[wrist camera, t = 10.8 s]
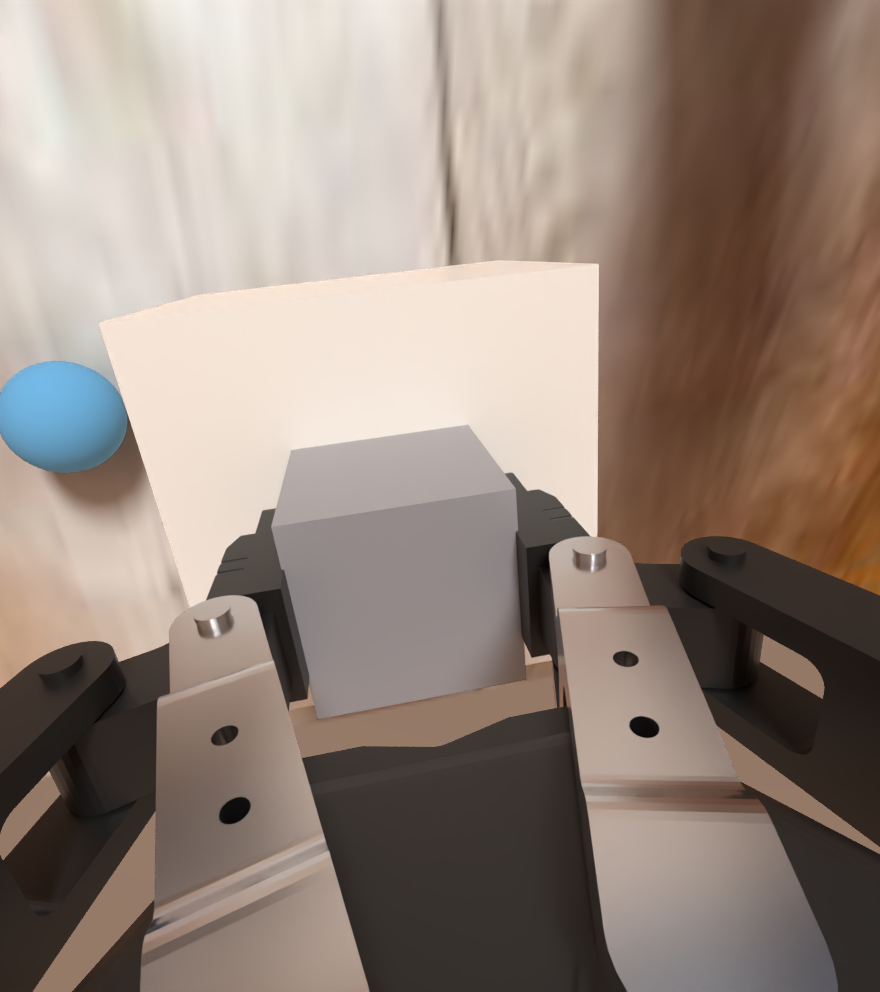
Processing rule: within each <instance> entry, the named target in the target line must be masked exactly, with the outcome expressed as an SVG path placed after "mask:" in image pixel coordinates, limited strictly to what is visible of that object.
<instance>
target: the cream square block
mask: <svg viewBox="0 0 880 992" xmlns="http://www.w3.org/2000/svg"><path fill="white" fill-rule="evenodd" d="M598 312H599V264H588V263H558V262H529V261H500V260H497V261H488V262H480V263H471V264H462V265H454V266H445V267H436V268H428V269H419V270H410V271H402V272H393V273H384V274H375V275H367V276H358V277H349V278H341V279H332V280H323V281H315V282H306V283H297V284H288V285H280V286H271V287H262V288H254V289H245V290H236V291H228V292H219V293H210V294H201V295H197V296H193V297H189V298H186V299H182V300H179V301H175V302H171V303H168V304H164V305H161V306H157V307H153V308H150V309H146V310H143V311H139V312H135V313H132V314H128V315H125V316H121V317H117V318H114V319H110V320H107V321H103V322H99V326H100V329H101V332H102V335H103V339H104V342H105V345H106V348H107V351H108V354H109V357H110V360H111V363H112V367H113V370H114V373H115V376H116V379H117V382H118V385H119V388H120V391H121V395H122V398H123V401H124V404H125V407H126V410H127V413H128V416H129V419H130V423H131V426H132V429H133V432H134V435H135V438H136V441H137V444H138V447H139V451H140V454H141V457H142V460H143V463H144V466H145V469H146V472H147V475H148V478H149V482H150V485H151V488H152V491H153V494H154V497H155V500H156V503H157V506H158V510H159V513H160V516H161V519H162V522H163V525H164V528H165V531H166V534H167V538H168V541H169V544H170V547H171V550H172V553H173V556H174V559H175V562H176V566H177V569H178V572H179V575H180V578H181V581H182V584H183V587H184V590H185V594H186V597H187V600H188V603H189V606H190V608H191V607H193V606H194V605H196V604H199V603H201V602H203V601H206V599H207V596H208V593H209V591H210V588H211V586H212V583H213V581H214V578H215V576H216V575H217V571H218V568H219V566H220V564H221V560H222V558H223V555H224V553H225V550H226V548H227V547H229V546H230V545H231V544H232V543H233V542H234V541H235V540H236V539H238V538H239V537H240V536H242V535H248V534H255V532H256V529H257V526H258V523H259V520H260V516H261V513H262V511H263V510H268V509H274V508H276V510H275V514H274V518H273V522H272V526H271V529H272V533H273V537H274V541H275V545H276V549H277V553H278V558H279V562H280V566H281V570H284V571H285V576H286V580H287V584H288V588H289V592H290V596H291V601H292V605H293V609H294V613H295V617H296V622H297V626H298V630H299V634H300V638H301V643H302V647H303V651H304V655H305V659H306V663H307V668H308V672H309V688H308V699H306V700H301V701H295V702H290V706H289V710H292V709H297V708H302V707H308V706H313V705H314V707H315V711H316V715H317V719H323V718H328V717H334V716H339V715H344V714H349V713H354V712H360V711H365V710H370V709H375V708H381V707H386V706H391V705H396V704H402V703H407V702H412V701H417V700H422V699H428V698H433V697H438V696H443V695H449V694H454V693H459V692H464V691H470V690H475V689H480V688H485V687H490V686H496V685H501V684H506V683H511V682H517V681H522V680H526V665H530V664H536V663H541V662H546V661H551V660H552V658H551V656H550V654H549V655H544V656H539V657H533V658H531V655H530V653H529V651H528V649H527V647H526V645H525V643H524V641H523V638H522V632H521V615H520V597H519V579H518V561H517V544H516V531H518V519H517V501H516V488H515V487H514V486H513V484H512V483H511V482H510V480H509V479H508V477H507V476H506V475H505V473H511V472H512V473H514V475H515V476H516V477H517V478H518V480H519V481H520V482H521V484H522V485H523V486H524V487H525V489H526V490H527V491H530V490H537V489H539V490H542V491H544V492H546V493H548V494H551V495H553V496H555V497H556V498H557V499H558V500H559V501H560V502H561V503H562V505H563V506H564V508H565V509H567V510H568V511H569V513H570V514H571V515H572V517H574V518H575V519H576V520H577V522H578V523H579V524H580V525H581V526H582V527H583V528H584V529H585V531H586V532H587V533H588V534H589V535H590V536H592V537H597V505H598Z"/></svg>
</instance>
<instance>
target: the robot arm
mask: <svg viewBox="0 0 880 992" xmlns="http://www.w3.org/2000/svg"><path fill="white" fill-rule="evenodd" d="M505 475H506V476H507V477H508V479H509V480H510V482H511V483H512V484H513V486H514V487H515V488H516V501H517V519H518V531H516V544H517V561H518V579H519V597H520V615H521V632H522V638H523V641H524V643H525V645H526V647H527V649H528V651H529V653H530V655H531V658H533V657H539V656H544V655H549V654H550V656H551V658H552V667H553V687H554V697H555V707H556V708H554V709H550V710H544V711H539V712H534V713H529V714H524V715H519V716H514V717H509V718H506V719H504V720H502V721H499V722H497V723H495V724H492V725H490V726H488V727H485V728H484V729H481V730H478V731H476V732H474V733H472V734H469V735H467V736H464V737H462V738H460V739H457V740H455V741H453V742H450V743H448V744H445V745H442V746H438V747H366V746H363V747H357V748H352V749H347V750H342V751H336V752H332V753H326V754H321V755H316V756H311V757H306V758H302V757H301V754H300V750H299V747H298V743H297V740H296V736H295V733H294V729H293V726H292V722H291V719H290V715H289V706H290V702H295V701H301V700H306V699H308V688H309V672H308V668H307V663H306V659H305V655H304V651H303V647H302V643H301V638H300V634H299V630H298V626H297V622H296V617H295V613H294V609H293V605H292V601H291V596H290V592H289V588H288V584H287V580H286V576H285V571H284V570H281V566H280V562H279V558H278V553H277V549H276V545H275V541H274V537H273V533H272V529H271V526H272V522H273V518H274V514H275V510H276V508H274V509H268V510H263V511H262V513H261V516H260V520H259V523H258V526H257V529H256V532H255V534H248V535H242V536H240V537H239V538H238V539H236V540H235V541H234V542H233V543H232V544H231V545H230V546H229V547H227V548H226V550H225V553H224V555H223V558H222V560H221V564H220V566H219V568H218V571H217V575H216V576H215V578H214V581H213V583H212V586H211V588H210V591H209V593H208V596H207V599H206V601H203V602H201V603H199V604H196V605H194V606H193V607H191V608H189V609H187V610H186V611H184V612H183V613H182V614H180V615H179V616H178V617H177V618H176V619H175V620H174V622H173V623H172V624H171V627H170V629H169V643H168V644H166V645H164V646H162V647H159V648H157V649H154V650H152V651H149V652H146V653H143V654H141V655H138V656H135V657H132V658H129V659H126V660H124V661H121V662H118V659H117V657H116V654H115V652H114V649H113V648H112V646H111V645H109V644H107V643H104V642H99V641H88V642H81V643H76V644H72V645H69V646H65V647H63V648H60V649H57V650H55V651H53V652H50V653H48V654H46V655H44V656H43V657H41V658H39V659H37V660H36V661H34V662H33V663H31V664H30V665H28V666H27V667H26V668H24V669H23V670H22V671H21V672H19V673H18V674H17V675H16V676H15V677H13V678H12V679H11V680H10V681H9V682H7V683H6V684H5V685H4V686H3V687H1V688H0V832H1V829H2V827H3V824H4V823H5V821H6V819H7V817H8V816H9V814H10V813H11V812H12V810H13V809H14V808H15V807H16V806H17V805H18V804H19V803H20V802H21V800H22V799H23V798H24V797H25V796H26V795H27V794H28V793H29V792H30V791H31V790H32V789H33V788H34V786H35V785H36V784H37V783H38V782H39V781H40V780H41V779H42V778H43V777H44V776H45V775H46V774H47V772H48V771H49V772H50V774H51V776H52V778H53V780H54V782H55V784H56V786H57V788H58V790H59V792H60V793H61V795H60V796H59V797H58V798H57V799H56V800H55V802H54V803H53V804H52V805H51V806H50V807H49V808H48V810H47V811H46V812H45V813H44V814H43V815H42V817H41V818H40V819H39V820H38V821H37V822H36V823H35V825H34V826H33V827H32V828H31V829H30V830H29V831H28V833H27V834H26V835H25V836H24V837H23V838H22V839H21V841H20V842H19V843H18V844H17V845H16V846H15V848H14V849H13V850H12V851H11V852H10V853H9V854H8V856H7V857H6V858H5V859H4V860H2V858H1V856H0V992H33V990H34V989H35V987H36V986H37V984H38V983H39V981H40V980H41V978H42V977H43V975H44V974H45V972H46V971H47V970H48V968H49V967H50V965H51V964H52V962H53V961H54V959H55V958H56V956H57V955H58V953H59V952H60V950H61V949H62V947H63V946H64V945H65V943H66V942H67V940H68V939H69V937H70V936H71V934H72V933H73V931H74V930H75V928H76V927H77V925H78V924H79V923H80V921H81V919H82V918H83V917H84V915H85V914H86V912H87V911H88V909H89V908H90V906H91V905H92V903H93V902H94V900H95V899H96V897H97V896H98V895H99V893H100V892H101V890H102V889H103V887H104V886H105V884H106V883H107V881H108V880H109V878H110V877H111V875H112V874H113V873H114V871H115V870H116V868H117V867H118V865H119V864H120V862H121V861H122V859H123V858H124V856H125V855H126V853H127V852H128V850H129V849H130V847H131V846H132V844H133V843H134V842H135V840H136V839H137V837H138V836H139V834H140V833H141V831H142V830H143V828H144V827H145V825H146V824H147V823H148V821H149V820H150V818H151V817H152V815H153V814H154V812H155V811H156V821H155V823H156V824H155V826H156V827H155V897H154V901H153V902H152V903H151V904H150V905H149V906H148V907H147V908H146V910H145V911H144V912H143V913H142V914H141V915H140V916H139V917H138V918H137V920H136V921H135V922H134V923H133V924H132V925H131V926H130V927H129V929H128V930H127V931H126V932H125V933H124V934H123V935H122V936H121V937H120V939H119V940H118V941H117V942H116V943H115V944H114V946H112V948H111V949H110V950H109V951H108V952H107V953H106V954H105V955H104V957H103V958H102V959H101V960H100V961H99V962H98V963H97V964H96V965H95V967H94V968H93V969H92V970H91V971H90V972H89V973H88V974H87V976H86V977H85V978H84V979H83V980H82V981H81V983H80V984H79V985H78V986H77V987H76V988H75V989H74V990H73V991H72V992H880V854H878V853H876V852H874V851H872V850H871V849H868V848H866V847H865V846H863V845H861V844H859V843H857V842H855V841H853V840H851V839H849V838H847V837H845V836H844V835H842V834H839V833H838V832H836V831H834V830H832V829H830V828H828V827H826V826H824V825H822V824H821V823H819V822H817V821H815V820H813V819H811V818H809V817H807V816H805V815H803V814H801V813H799V812H798V811H796V810H794V809H792V808H790V807H788V806H786V805H784V804H782V803H780V802H778V801H776V800H775V799H773V798H771V797H769V796H767V795H765V794H763V793H761V792H759V791H757V790H755V789H754V788H752V787H750V786H748V785H746V784H744V783H742V782H740V780H739V778H738V776H737V773H736V771H735V768H734V766H733V764H732V761H731V759H730V757H729V754H728V752H727V749H726V747H725V745H724V743H723V740H722V738H721V735H720V733H719V731H718V728H717V726H718V727H720V728H721V729H722V730H724V731H725V732H726V733H728V734H729V735H730V736H732V737H733V738H734V739H736V740H737V741H738V742H740V743H741V744H743V745H744V746H745V747H746V748H748V749H749V750H750V751H752V752H753V753H755V754H756V755H757V756H758V757H760V758H761V759H762V760H764V761H765V762H766V763H768V764H769V765H771V766H772V767H773V768H775V769H776V770H777V771H779V772H780V773H781V774H783V775H784V776H785V777H787V778H788V779H789V780H791V781H792V782H794V783H795V784H796V785H797V786H799V787H800V788H802V789H803V790H804V791H805V792H807V793H808V794H809V795H811V796H812V797H814V798H815V799H816V800H818V801H819V802H820V803H822V804H823V805H824V806H826V807H827V808H828V809H830V810H831V811H832V812H834V813H835V814H836V815H838V816H839V817H841V818H842V819H843V820H844V821H846V822H847V823H849V824H850V825H851V826H852V827H854V828H855V829H856V830H858V831H860V833H862V834H863V835H864V836H866V837H867V838H869V839H870V840H871V841H873V842H874V843H875V844H877V845H878V846H879V847H880V596H879V595H877V594H875V593H872V592H870V591H867V590H865V589H863V588H860V587H858V586H855V585H853V584H851V583H848V582H846V581H843V580H841V579H838V578H836V577H834V576H831V575H829V574H826V573H824V572H822V571H819V570H817V569H814V568H812V567H810V566H807V565H805V564H802V563H800V562H797V561H795V560H793V559H790V558H788V557H785V556H783V555H781V554H778V553H776V552H773V551H771V550H769V549H766V548H764V547H761V546H759V545H756V544H754V543H751V542H749V541H745V540H742V539H737V538H732V537H721V536H712V537H702V538H698V539H694V540H692V541H690V542H688V543H686V544H685V545H684V546H683V547H682V549H681V557H680V564H641V563H634V562H633V559H632V556H631V554H630V552H629V550H628V549H627V548H626V547H625V546H623V545H622V544H620V543H618V542H616V541H613V540H610V539H607V538H601V537H592V536H590V535H589V534H588V533H587V532H586V531H585V529H584V528H583V527H582V526H581V525H580V524H579V523H578V522H577V520H576V519H575V518H574V517H572V515H571V514H570V513H569V511H568V510H567V509H565V508H564V506H563V505H562V503H561V502H560V501H559V500H558V499H557V498H556V497H555V496H553V495H551V494H548V493H546V492H544V491H542V490H539V489H537V490H530V491H527V490H526V489H525V487H524V486H523V485H522V484H521V482H520V481H519V480H518V478H517V477H516V476H515V475H514V473H512V472H511V473H505ZM763 635H765V636H767V637H769V638H771V639H773V640H775V641H777V642H778V643H780V644H782V645H784V646H786V647H787V648H789V649H791V650H793V651H795V652H796V653H798V654H800V655H802V656H803V657H805V658H807V659H808V660H809V661H810V662H811V663H812V664H813V665H814V666H815V667H816V668H817V669H818V671H819V673H820V674H821V676H822V678H823V681H824V686H825V689H824V696H823V699H821V698H820V697H818V696H816V695H814V694H813V693H811V692H810V691H808V690H806V689H805V688H803V687H801V686H800V685H798V684H796V683H795V682H793V681H791V680H790V679H788V678H786V677H784V676H783V675H781V674H780V673H778V672H776V671H775V670H773V669H771V668H770V667H768V666H766V665H764V664H763V663H761V662H760V656H761V649H762V642H763ZM716 725H717V726H716Z"/></svg>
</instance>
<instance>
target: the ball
mask: <svg viewBox="0 0 880 992" xmlns="http://www.w3.org/2000/svg"><path fill="white" fill-rule="evenodd" d="M126 429H127V412H126V408H125V405H124V402H123V400H122V398H121V396H120V394H119V393H118V391H117V390H116V389H115V387H114V386H113V385H112V384H111V383H110V382H109V381H108V380H107V379H106V378H104V377H103V376H102V375H100V374H99V373H97V372H96V371H94V370H92V369H90V368H87V367H85V366H82V365H79V364H75V363H70V362H63V361H51V362H43V363H38V364H35V365H32V366H29V367H27V368H25V369H23V370H21V371H20V372H18V373H17V374H15V375H14V376H13V377H12V378H11V379H10V380H9V381H8V382H7V383H6V384H5V386H4V387H3V389H2V391H1V392H0V434H1V436H2V438H3V440H4V441H5V443H6V444H7V445H8V447H9V448H10V449H11V450H12V451H13V452H14V453H15V454H16V455H17V456H19V457H20V458H21V459H23V460H24V461H26V462H28V463H29V464H31V465H33V466H36V467H38V468H41V469H44V470H47V471H52V472H61V473H72V472H80V471H84V470H88V469H91V468H94V467H96V466H98V465H100V464H102V463H103V462H105V461H106V460H108V459H109V458H110V457H111V456H112V455H113V454H114V453H115V452H116V451H117V450H118V448H119V447H120V445H121V443H122V442H123V439H124V437H125V434H126Z"/></svg>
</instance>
